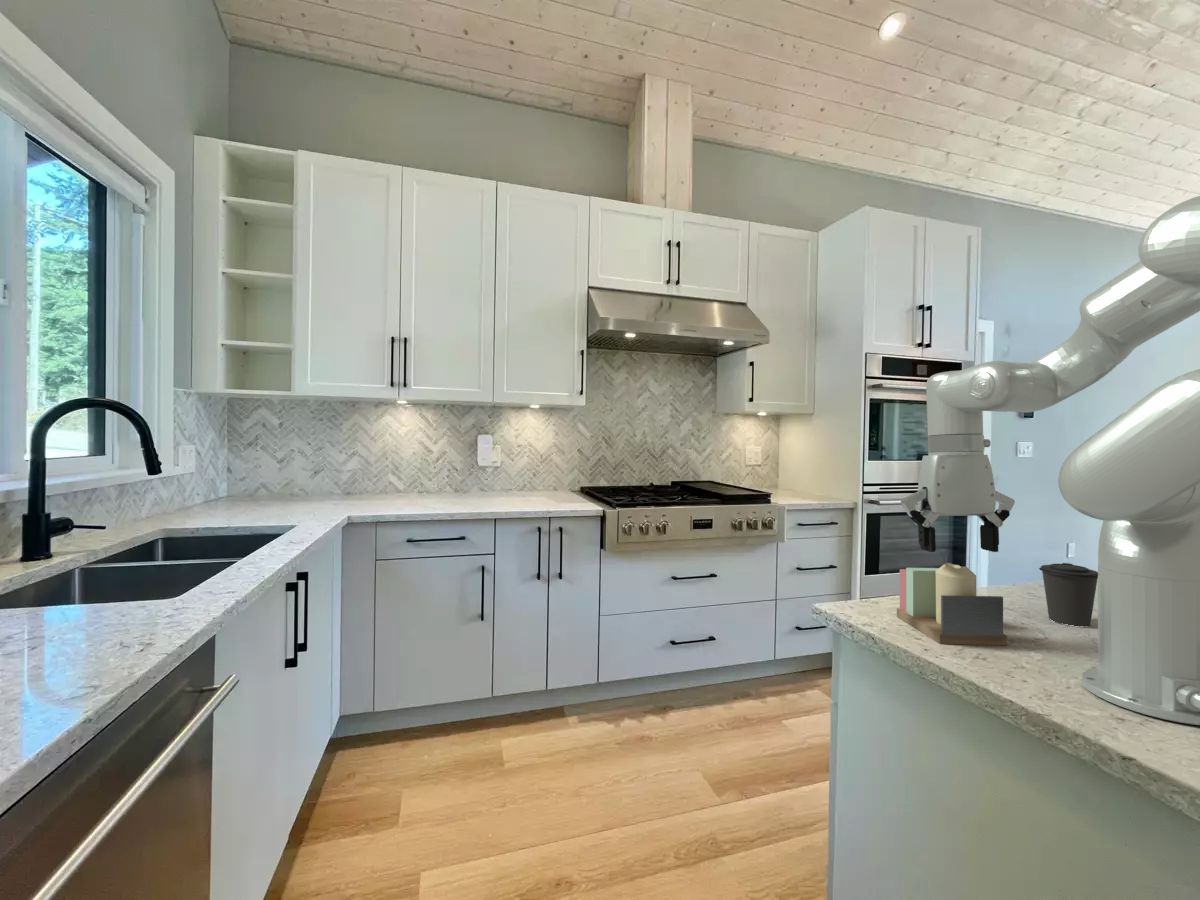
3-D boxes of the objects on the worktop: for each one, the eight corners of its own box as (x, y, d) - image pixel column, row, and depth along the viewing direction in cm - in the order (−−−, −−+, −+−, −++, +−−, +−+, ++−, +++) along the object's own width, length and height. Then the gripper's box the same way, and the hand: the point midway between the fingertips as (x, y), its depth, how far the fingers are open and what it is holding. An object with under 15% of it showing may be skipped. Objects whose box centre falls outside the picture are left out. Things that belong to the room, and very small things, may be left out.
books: (967, 617, 87) (967, 571, 87) (913, 616, 88) (913, 570, 88) (951, 609, 92) (951, 565, 92) (899, 608, 92) (899, 564, 92)
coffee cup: (1075, 615, 93) (1074, 561, 93) (1115, 630, 85) (1115, 571, 85) (1027, 613, 94) (1027, 560, 94) (1063, 629, 86) (1062, 570, 86)
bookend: (1003, 635, 79) (1003, 597, 79) (943, 634, 79) (943, 596, 79) (1000, 634, 79) (1000, 596, 79) (941, 633, 80) (941, 595, 80)
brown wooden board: (1006, 645, 79) (1006, 635, 79) (939, 643, 79) (939, 634, 79) (953, 617, 92) (953, 609, 92) (896, 616, 92) (896, 608, 92)
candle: (984, 628, 82) (984, 566, 82) (962, 632, 80) (962, 569, 80) (949, 618, 87) (949, 559, 87) (928, 622, 85) (927, 562, 85)
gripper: (993, 446, 87) (997, 546, 86) (889, 448, 88) (892, 547, 87) (1027, 445, 79) (1032, 554, 79) (913, 446, 80) (916, 554, 80)
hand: (958, 550), depth 83 cm, fingers open, 9 cm apart
